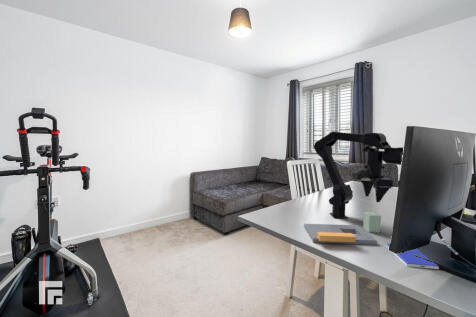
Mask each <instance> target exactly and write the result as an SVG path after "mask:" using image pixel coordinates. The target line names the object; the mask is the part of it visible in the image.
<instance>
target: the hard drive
mask: <svg viewBox="0 0 476 317" xmlns="http://www.w3.org/2000/svg"><path fill="white" fill-rule="evenodd" d="M389 244H390V243H386V244H385V247H386V246H387V247H388V248H387V247H386V248H387V249H388V250H389ZM413 254H417V255H419V256H420V257H422V258H419V257H416V256H414V255H413ZM394 255H395V256H396V258H398V259H399V260H400V261H401V262H402V263H403V264H404V265H405V266H406V267H410V268H412V267H414V268H421V269H423V268H424V269H434V270H439V269H440V266H439V265H438V264H436V263H435V262H434V261H432V262H430V261H427V260H425V259H423V258H427V259H428V257H427V256H426V255H425V254H424V253H422V252H421V251H419V249H417V248H416V249H415V250H412V251H408V252H404V253H399V254H394ZM433 262H434V263H433Z"/></svg>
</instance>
